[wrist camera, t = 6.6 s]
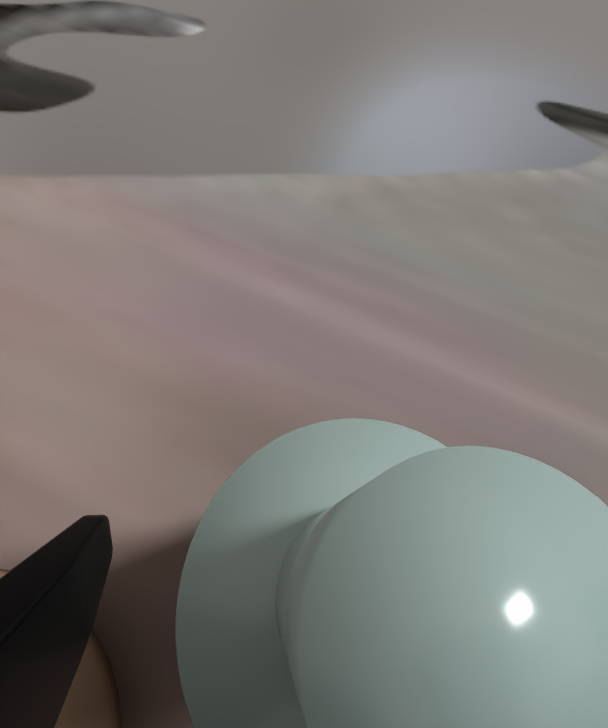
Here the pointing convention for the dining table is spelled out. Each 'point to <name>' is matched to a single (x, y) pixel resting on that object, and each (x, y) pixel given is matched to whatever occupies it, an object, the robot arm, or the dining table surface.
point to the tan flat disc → (91, 691)
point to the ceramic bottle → (395, 588)
